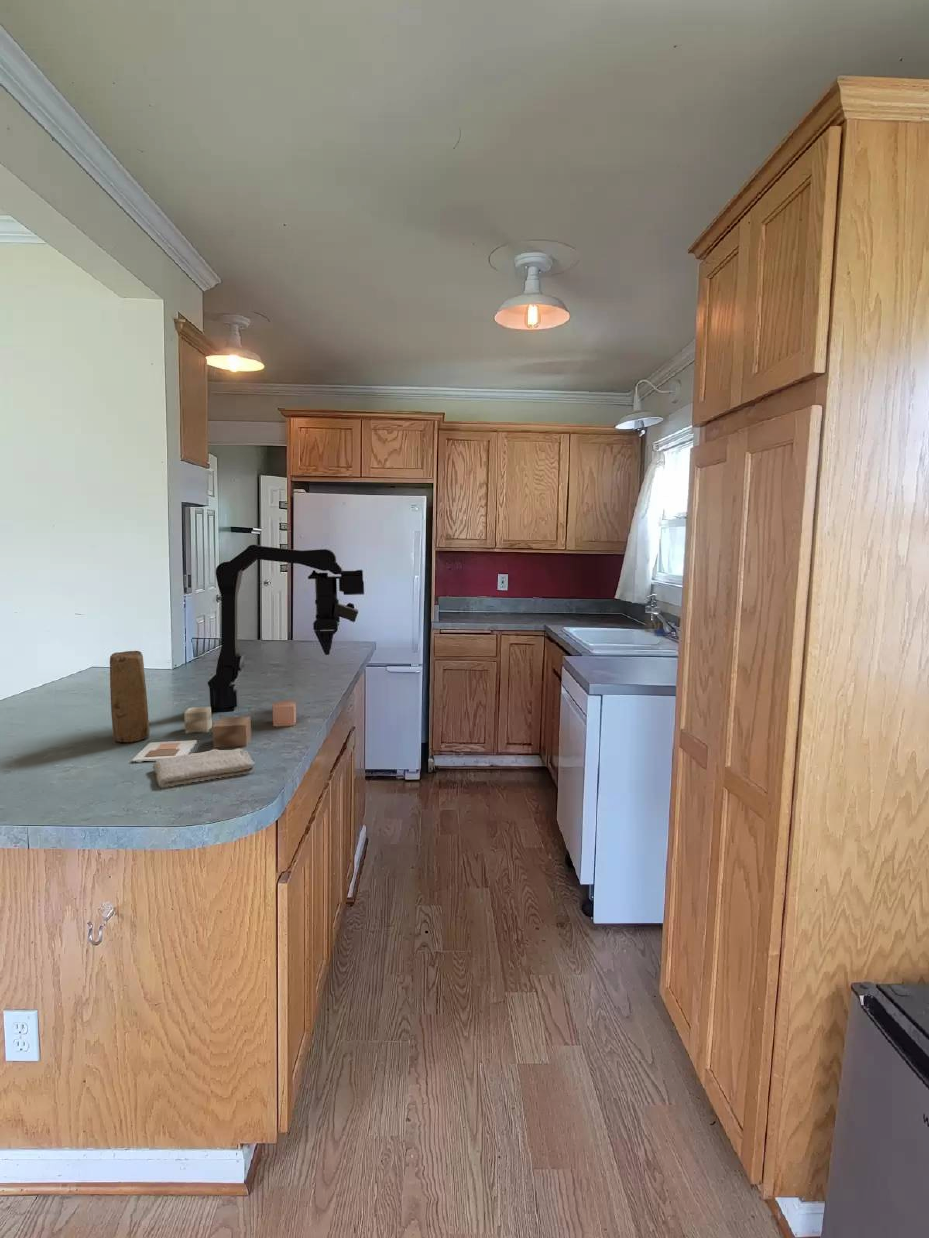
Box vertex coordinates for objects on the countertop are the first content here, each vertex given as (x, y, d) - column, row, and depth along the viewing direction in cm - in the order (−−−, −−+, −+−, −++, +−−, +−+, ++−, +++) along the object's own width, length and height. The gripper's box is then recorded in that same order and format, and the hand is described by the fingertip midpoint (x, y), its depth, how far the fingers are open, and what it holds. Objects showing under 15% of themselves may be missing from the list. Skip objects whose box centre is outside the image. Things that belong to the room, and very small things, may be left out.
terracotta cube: (273, 726, 163) (272, 706, 163) (275, 721, 168) (275, 702, 167) (294, 725, 164) (293, 706, 163) (296, 720, 169) (295, 701, 168)
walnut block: (213, 748, 147) (212, 726, 146) (220, 739, 154) (218, 718, 153) (246, 746, 148) (245, 724, 147) (251, 737, 155) (250, 716, 154)
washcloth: (258, 774, 131) (257, 759, 131) (158, 792, 122) (157, 776, 122) (245, 757, 141) (245, 743, 141) (152, 772, 133) (151, 757, 132)
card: (132, 762, 137) (131, 759, 137) (149, 745, 149) (149, 741, 149) (183, 759, 139) (183, 756, 139) (196, 742, 150) (196, 739, 150)
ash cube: (185, 733, 158) (184, 712, 157) (190, 727, 163) (189, 707, 162) (207, 732, 159) (206, 711, 158) (211, 726, 164) (210, 706, 163)
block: (150, 741, 152) (144, 654, 149) (113, 746, 148) (106, 657, 146) (148, 729, 161) (143, 647, 159) (113, 733, 158) (107, 650, 155)
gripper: (356, 597, 174) (357, 656, 175) (356, 592, 192) (357, 645, 194) (312, 598, 172) (314, 658, 174) (317, 592, 190) (318, 646, 192)
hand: (328, 651), depth 183 cm, fingers open, 9 cm apart
